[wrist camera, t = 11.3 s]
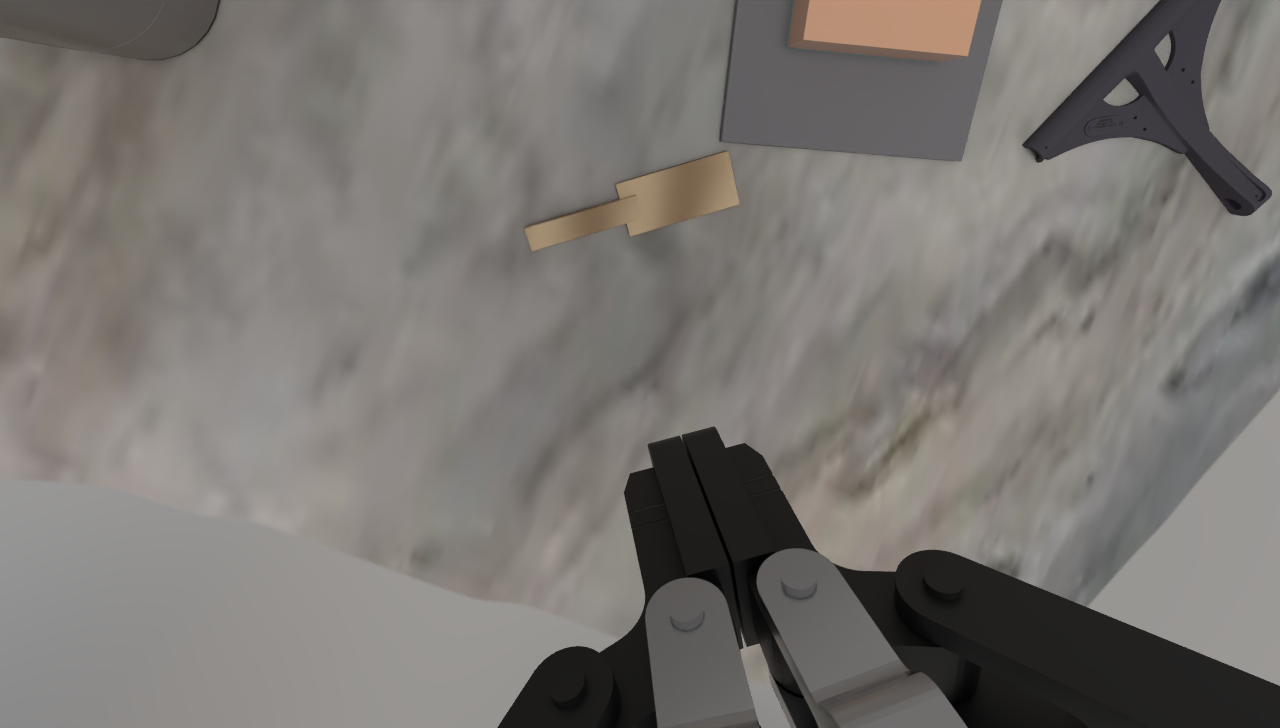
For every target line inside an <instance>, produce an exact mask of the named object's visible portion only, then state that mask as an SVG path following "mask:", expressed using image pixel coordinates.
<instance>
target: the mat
mask: <svg viewBox="0 0 1280 728" xmlns="http://www.w3.org/2000/svg"><path fill="white" fill-rule="evenodd" d="M1002 1H1003V0H981V4H980V8H979V12H978V16H977V20H976V25H975V29H974V33H973V37H972V41H971V45H970V49H969V53H968V56H966V57H962V58H957V59H953V60H948V61H944V62H939V63H933V62H923V61H913V60H903V59H893V58H882V57H872V56H862V55H852V54H842V53H832V52H822V51H811V50H801V49H791V48H786V44H787V37H788V30H789V23H790V16H791V9H792V3H793V0H736V4H735V13H734V21H733V30H732V38H731V47H730V56H729V64H728V73H727V81H726V90H725V99H724V107H723V116H722V124H721V133H720V141H721V142H733V143H745V144H757V145H769V146H781V147H794V148H806V149H818V150H830V151H842V152H854V153H866V154H878V155H890V156H903V157H915V158H927V159H939V160H951V161H962V157H963V153H964V149H965V145H966V142H967V138H968V134H969V130H970V126H971V122H972V118H973V114H974V110H975V106H976V102H977V99H978V95H979V91H980V87H981V83H982V79H983V75H984V71H985V67H986V63H987V59H988V56H989V52H990V48H991V44H992V40H993V36H994V32H995V28H996V24H997V20H998V16H999V13H1000V9H1001V5H1002Z"/></svg>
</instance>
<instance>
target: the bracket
mask: <svg viewBox="0 0 1280 728" xmlns="http://www.w3.org/2000/svg"><path fill="white" fill-rule="evenodd" d="M1220 2H1221V0H1161V1H1160V2H1159V3H1158V4H1157V5H1156V6H1155V7H1154V8H1153V9H1152V10H1151V11H1150V12H1149V13H1148V14H1147V15H1146V16H1145V17H1144V18H1143V20H1142V21H1141V22H1140V23H1139V24H1138V25H1137V26H1136V27H1135V28H1134V29H1133V30H1132V31H1131V32H1130V33H1129V34H1128V35H1127V36H1126V37H1125V38H1124V39H1123V40H1122V41H1121V42H1120V43H1119V45H1118V46H1117V47H1116V48H1115V49H1114V50H1113V51H1112V52H1111V53H1110V54H1109V55H1108V56H1107V57H1106V58H1105V59H1104V60H1103V61H1102V62H1101V63H1100V64H1099V65H1098V66H1097V67H1096V69H1095V70H1094V71H1093V72H1092V73H1091V74H1090V75H1089V76H1088V77H1087V78H1086V79H1085V80H1084V81H1083V82H1082V83H1081V84H1080V85H1079V86H1078V87H1077V88H1076V89H1075V90H1074V91H1073V92H1072V94H1071V95H1070V96H1069V97H1068V98H1067V99H1066V100H1065V101H1064V102H1063V103H1062V104H1061V105H1060V106H1059V107H1058V108H1057V109H1056V110H1055V111H1054V112H1053V113H1052V114H1051V115H1050V116H1049V117H1048V119H1047V120H1046V121H1045V122H1044V123H1043V124H1042V125H1041V126H1040V127H1039V128H1038V129H1037V130H1036V131H1035V132H1034V133H1033V134H1032V135H1031V136H1030V137H1029V138H1028V139H1027V140H1026V141H1025V142H1024V144H1023V146H1024V147H1025V148H1030V149H1032V150H1034V151H1035V152H1037V153H1038V154H1039V155H1038V156H1037V157H1036V158H1035V160H1036V161H1037V162H1042V161H1043V160H1044V159H1047V160H1049V159H1052V158H1054V157H1056V156H1058V155H1060V154H1062V153H1064V152H1066V151H1069V150H1071V149H1073V148H1076V147H1078V146H1081V145H1084V144H1087V143H1091V142H1094V141H1098V140H1103V139H1109V138H1117V137H1135V138H1140V139H1145V140H1149V141H1153V142H1156V143H1159V144H1161V145H1163V146H1165V147H1167V148H1169V149H1171V150H1173V151H1175V152H1177V153H1179V154H1185V155H1186V156H1187V158H1188V159H1189V160H1190V161H1191V163H1192V164H1193V165H1194V167H1195V168H1196V169H1197V171H1198V172H1199V173H1200V175H1201V176H1202V177H1203V179H1204V180H1205V181H1206V182H1207V184H1208V185H1209V186H1210V188H1211V189H1212V190H1213V192H1214V193H1215V194H1216V196H1217V197H1218V198H1219V199H1220V201H1221V202H1222V203H1223V205H1224V206H1225V207H1226V209H1227V210H1228V211H1229V213H1232V214H1235V215H1239V216H1248V215H1251V214H1252V213H1254V212H1255V211H1256V210H1257V209H1258V208H1259V207H1260V206H1261V205H1263V204H1264V203H1265V202H1266V201H1267V200H1268V199H1269V198H1270V197H1271V196H1272V191H1271V189H1270V188H1269V187H1268V186H1267V185H1266V184H1264V183H1263V182H1262V181H1260V180H1259V179H1258V178H1257V177H1256V176H1255V175H1253V174H1252V173H1251V172H1250V171H1249V170H1248V169H1247V168H1246V167H1245V166H1244V165H1243V164H1242V163H1240V162H1239V161H1238V160H1237V159H1236V158H1235V157H1234V156H1233V155H1232V154H1231V153H1230V152H1229V151H1228V150H1226V149H1225V148H1224V147H1223V145H1222V144H1221V143H1220V142H1219V141H1218V140H1217V139H1216V138H1215V137H1214V135H1213V134H1212V133H1211V132H1210V131H1209V125H1208V122H1207V118H1206V115H1205V111H1204V107H1203V101H1202V92H1201V67H1202V62H1203V56H1204V51H1205V46H1206V42H1207V38H1208V34H1209V31H1210V28H1211V25H1212V22H1213V19H1214V16H1215V14H1216V11H1217V9H1218V6H1219V4H1220ZM1168 33H1169V36H1170V39H1171V53H1170V57H1169V60H1168V63H1167V65H1166V67H1165V68H1164V66H1163V64H1162V63H1161V61H1160V59H1159V57H1158V56H1157V54H1156V53H1155V51H1154V49H1155V47H1156V46H1157V45H1158V44H1159V42H1160V41H1161V40H1162V39H1163V38H1164V37H1165V36H1166V35H1167V34H1168ZM1124 78H1126V79H1127V80H1128V81H1129V82H1130V83H1131V84H1132V86H1133V87H1134V88H1135V89H1136V91H1137V92H1138V93H1139V96H1138V97H1137V98H1136V99H1135V100H1134V101H1132V102H1130V103H1128V104H1126V105H1123V106H1112V105H1110V104H1108V103H1106V102H1105V101H1103V99H1104V98H1105V97H1106V96H1107V95H1108V94H1109V93H1110V92H1111V91H1112V90H1113V89H1114V88H1115V87H1116V86H1117V85H1118V84H1119V83H1120V82H1121V81H1122V80H1123V79H1124Z"/></svg>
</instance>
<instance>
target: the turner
mask: <svg viewBox="0 0 1280 728" xmlns="http://www.w3.org/2000/svg"><path fill="white" fill-rule="evenodd" d="M615 185H616V188H617V192H618V195H619V199H617V200H614V201H610V202H607V203H603V204H600V205H597V206H593V207H590V208H587V209H583V210H580V211H577V212H573V213H570V214H566V215H563V216H560V217H556V218H553V219H550V220H546V221H543V222H540V223H536V224H533V225H529V226H526V227H525V232H526V235H527V238H528V241H529V244H530V246H531V249H532V251H535V250H538V249H541V248H545V247H548V246H552V245H555V244H558V243H562V242H565V241H568V240H572V239H575V238H579V237H582V236H585V235H589V234H592V233H595V232H599V231H602V230H606V229H609V228H612V227H616V226H619V225H623V224H626V223H627V227H628V230H629V234H630V236H633V235H637V234H640V233H644V232H647V231H650V230H654V229H657V228H661V227H664V226H667V225H671V224H674V223H678V222H681V221H684V220H688V219H691V218H695V217H698V216H701V215H705V214H708V213H711V212H715V211H718V210H722V209H725V208H728V207H732V206H735V205H739V200H738V195H737V190H736V185H735V181H734V176H733V171H732V166H731V161H730V157H729V152H728V151H724V152H721V153H718V154H714V155H711V156H708V157H704V158H701V159H698V160H694V161H691V162H688V163H684V164H681V165H677V166H674V167H671V168H667V169H664V170H661V171H657V172H654V173H651V174H647V175H644V176H641V177H637V178H634V179H630V180H627V181H624V182H620V183H617V184H615Z"/></svg>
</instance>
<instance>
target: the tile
mask: <svg viewBox="0 0 1280 728" xmlns="http://www.w3.org/2000/svg"><path fill="white" fill-rule="evenodd" d="M980 4H981V0H793V3H792V9H791V16H790V23H789V30H788V37H787V44H786V48H791V49H801V50H811V51H822V52H832V53H842V54H852V55H862V56H872V57H882V58H893V59H903V60H913V61H923V62H933V63H939V62H944V61H948V60H953V59H957V58H962V57H966V56H968V53H969V49H970V45H971V41H972V37H973V33H974V29H975V25H976V20H977V16H978V12H979V8H980Z"/></svg>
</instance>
